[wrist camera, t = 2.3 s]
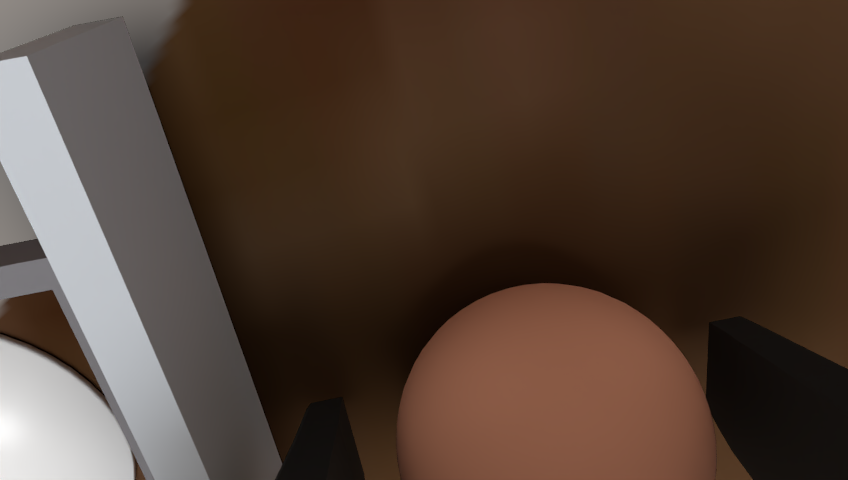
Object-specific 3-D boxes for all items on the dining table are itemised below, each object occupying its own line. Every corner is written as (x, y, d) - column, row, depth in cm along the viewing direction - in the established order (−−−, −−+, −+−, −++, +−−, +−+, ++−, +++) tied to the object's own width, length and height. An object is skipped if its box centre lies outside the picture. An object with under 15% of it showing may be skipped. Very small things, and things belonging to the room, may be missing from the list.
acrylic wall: (72, 25, 10) (-45, 68, 7) (122, 16, 10) (26, 55, 7) (311, 633, 18) (303, 787, 14) (340, 626, 18) (339, 779, 14)
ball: (504, 181, 12) (607, 350, 7) (687, 320, 14) (865, 527, 9) (335, 375, 14) (330, 620, 9) (521, 476, 16) (600, 725, 11)
